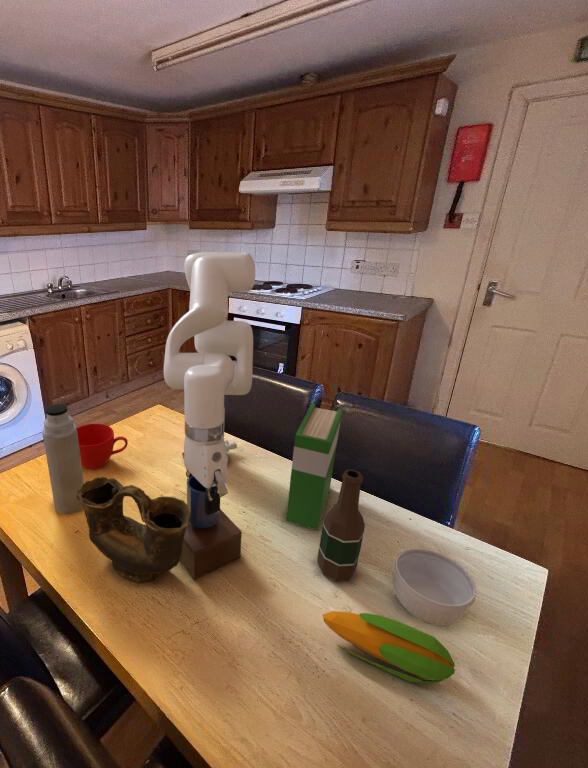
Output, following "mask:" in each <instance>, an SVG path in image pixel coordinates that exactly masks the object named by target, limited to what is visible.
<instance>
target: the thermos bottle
mask: <svg viewBox="0 0 588 768" xmlns="http://www.w3.org/2000/svg"><path fill="white" fill-rule="evenodd" d="M45 413H46V419H45V420H44V422H43V429H42V431H41V433H42V439H43V444H44V450H45V457H46V464H47V468H48V474H49V482H50V486H51V492H52V500H53V506H54V509H55V510H56V511H57V513H59V514H65V515H69V514H75V513H77V512H79V511H80V510H82V509H84V508H83V505H82V504H81V502H80V501H79V500H78V499H77V494H78V490H80V489H81V488H82V485H83V484H85V481H84V474H83V465H81V458H80V450H79V442H78V434H77V428H78V427H77V425H76V423H74V418H73V417H72V416H71V415H70V414H69V412H68V406H67V405H66V404H64V403H56V404H55V403H54V404H52V405H48V406H47V407H46V408H45Z"/></svg>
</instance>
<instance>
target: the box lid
mask: <svg viewBox="0 0 588 768" xmlns="http://www.w3.org/2000/svg"><path fill="white" fill-rule="evenodd" d="M242 534H243V532H242V530H241V529H240V528H239V527H238V526H237V525H236V524H235V523H234V522H233V521H232V520H231V518H230V517H229V516H228V515H227V514H226V513H225V512H224V511H223V510H222V509H221V508H220V511H219V517H218V521H217V523H216V524H215V525H213V526H211V527H208V528H199V527H196V526H193V525H192V524H191V523H190V522H188V526H187V528H186V530H185V535H184V542H185V543H186V544H187V546H188V547H189V548H190V550H191V551H192V552H193V554H194V555H195V554H198V553H200V552H202V551H205V550H207V549H209V548H212V547H214V546H216V545H219V544H221V543H223V542H226V541H228V540H230V539H232V538H235V537H237V536H239V535H242ZM242 536H243V535H242Z"/></svg>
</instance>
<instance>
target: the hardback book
mask: <svg viewBox="0 0 588 768" xmlns="http://www.w3.org/2000/svg"><path fill="white" fill-rule="evenodd" d="M342 413H343V408H339V407H338V409H337V411H335V410H329V409H325V408H320V407H316V403H311V404H310V406H309V407H308V409H307V411H306V413H305V415H304V417H303V419H302V421H301V422H300V425H299V427H298V429H297V431H296V433H295V435H294V445H293V452H292V463H291V470H290V471H291V472H290V480H289V488H288V498H287V506H286V516H285V521H286V522H289V523H293V524H296V525H299V526H301V527H302V526H303V527H305V528H309V529H312V530H314V531H318V529H319V526H320V523H321V520H322V516H323V512H324V509H325V505H326V503H327V499H328V497H329V493H330V489H331V483H332V477H333V472H334V471H333V470H334V464H335V458H336V451H337V447H338V440H339V433H340V427H341V421H342Z"/></svg>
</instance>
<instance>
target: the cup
mask: <svg viewBox="0 0 588 768" xmlns="http://www.w3.org/2000/svg"><path fill="white" fill-rule="evenodd" d="M213 482H215V481H214V480H213ZM211 492H212V494H213V493H215V492H216V488H215V486H214V487H212V488H211ZM206 498H208V497H207V493H206V488H205V487H204V486H203V485H202V484H201V483H200V482H199V481H198V480H197V479H196V478H195V477H194V476H193V475H192V476H191V477H189V478H188V480H187V479H186V504H187V505H188V508H189V510H190V516H191V517H190V520H189V522H190V523H191V524H192V525H193V526H196V527H199V528H208V527H211V526H213V525H215V524H216V523H217V521H218V517H219V511H218V512H216V513H213V514H211V515H206V513H205V506H206Z"/></svg>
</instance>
